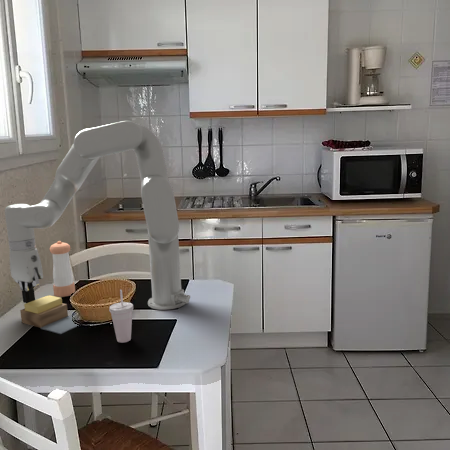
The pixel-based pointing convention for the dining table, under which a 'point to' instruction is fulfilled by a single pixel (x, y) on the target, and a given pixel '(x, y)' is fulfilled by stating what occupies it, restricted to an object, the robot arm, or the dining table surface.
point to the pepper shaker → (62, 270)
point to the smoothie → (122, 319)
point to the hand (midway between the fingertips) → (29, 301)
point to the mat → (61, 325)
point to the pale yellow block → (43, 304)
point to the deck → (44, 316)
